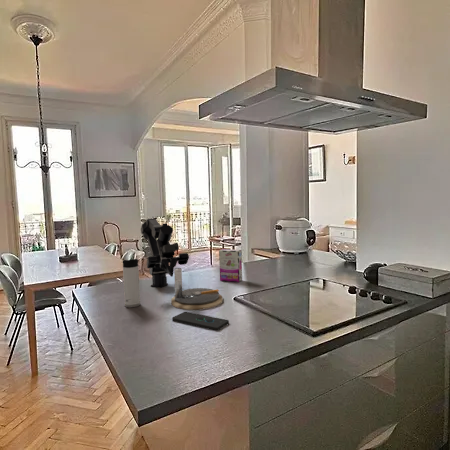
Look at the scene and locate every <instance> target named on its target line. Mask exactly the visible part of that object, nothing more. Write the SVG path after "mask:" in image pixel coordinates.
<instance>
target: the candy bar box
mask: <svg viewBox="0 0 450 450" xmlns="http://www.w3.org/2000/svg"><path fill="white" fill-rule="evenodd" d="M242 254H243V253H242V249H226V248H225V249H224V248H223V249H220V250H219V251H218V256H219V257H218V258H219V259H218V260H219V281H220V282H232V283H240V282H242V281H243V258H242V257H243V255H242Z"/></svg>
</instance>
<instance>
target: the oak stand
mask: <svg viewBox="0 0 450 450" xmlns="http://www.w3.org/2000/svg"><path fill="white" fill-rule="evenodd" d="M170 302H171V303H170V304H171V305H172V306H173V307H175V308H176V309H181V310H188V311H190V310H191V311H197V310H200V311H201V310H206V309H211V308H215V307H218V306H220V305H221V304H222V303H223V296H222V295H221V294H220V293H219V299H218V300H216V301H214V302H212V303H208V304H202V305H186V304H181V303H178V302H176V301H175V295H174V296H173V297H172V298H171V300H170Z"/></svg>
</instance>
